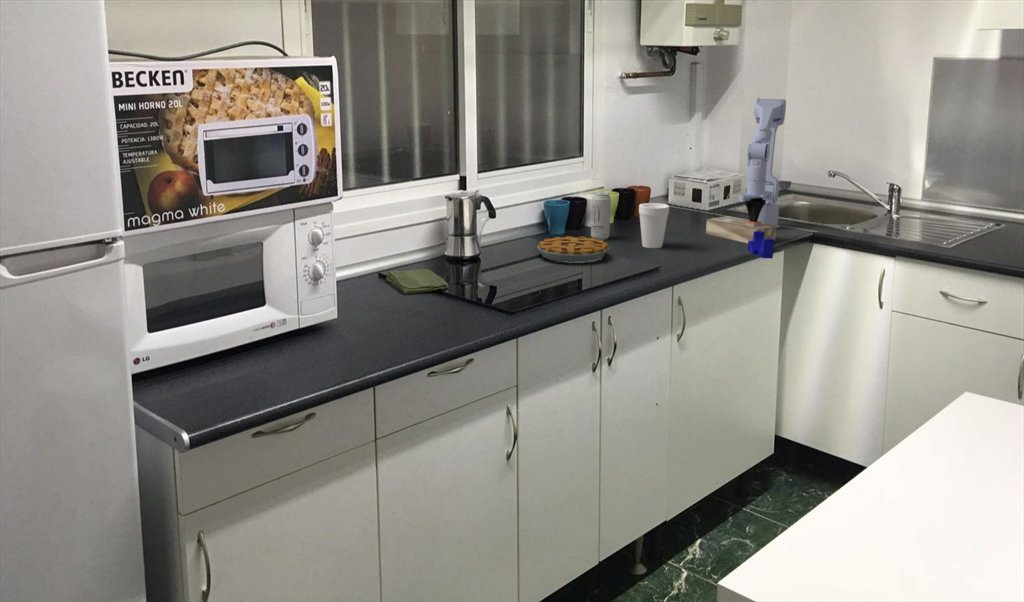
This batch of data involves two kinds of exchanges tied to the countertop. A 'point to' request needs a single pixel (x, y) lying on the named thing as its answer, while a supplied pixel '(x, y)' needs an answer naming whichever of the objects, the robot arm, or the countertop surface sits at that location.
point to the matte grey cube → (729, 220)
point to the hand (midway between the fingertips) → (753, 221)
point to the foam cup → (653, 223)
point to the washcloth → (416, 281)
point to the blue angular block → (761, 245)
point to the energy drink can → (600, 216)
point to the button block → (737, 229)
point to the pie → (572, 248)
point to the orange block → (753, 223)
